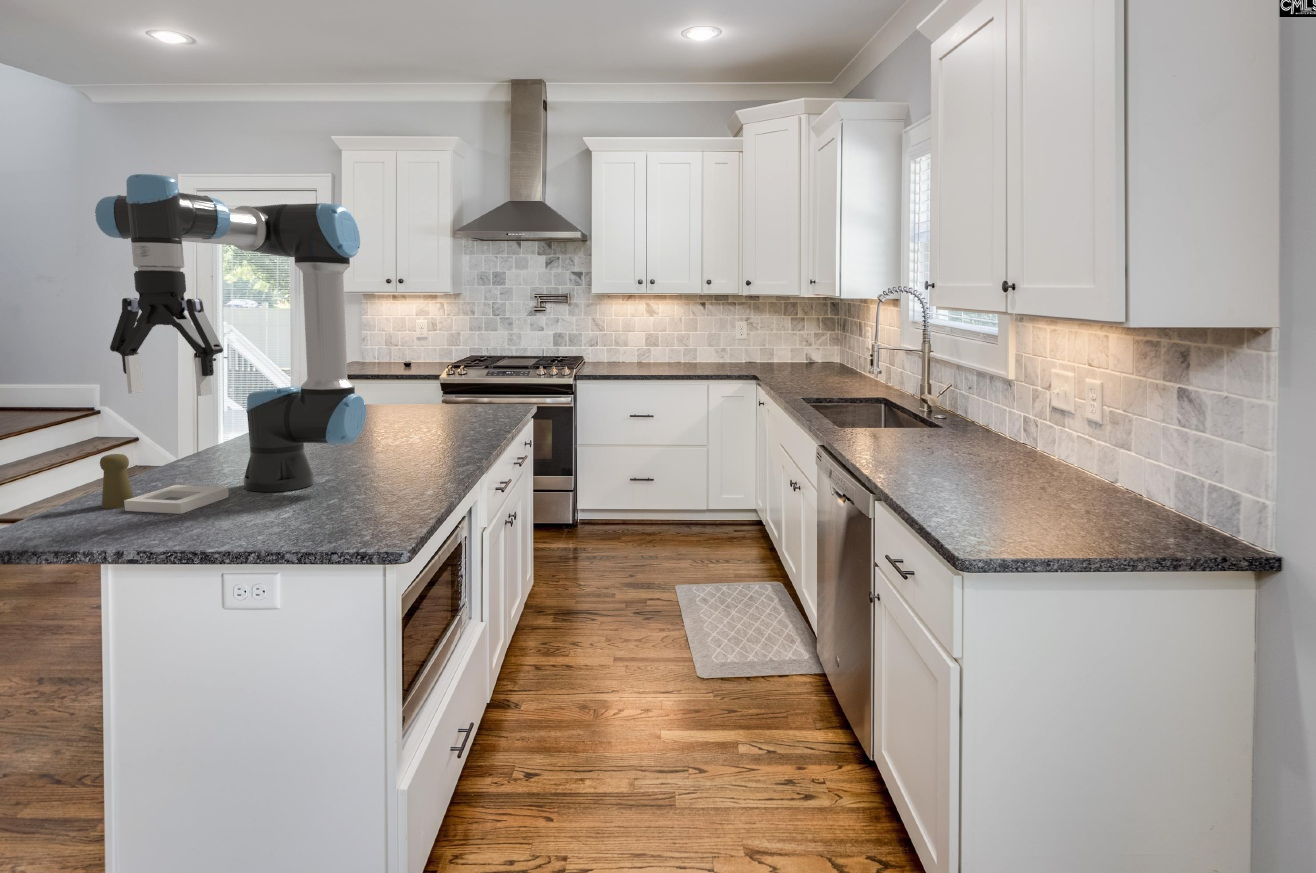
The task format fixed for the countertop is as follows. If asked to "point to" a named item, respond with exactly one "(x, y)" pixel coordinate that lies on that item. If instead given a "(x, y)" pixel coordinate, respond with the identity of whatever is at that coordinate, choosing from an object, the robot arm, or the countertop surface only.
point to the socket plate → (176, 499)
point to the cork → (115, 481)
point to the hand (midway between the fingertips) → (170, 394)
